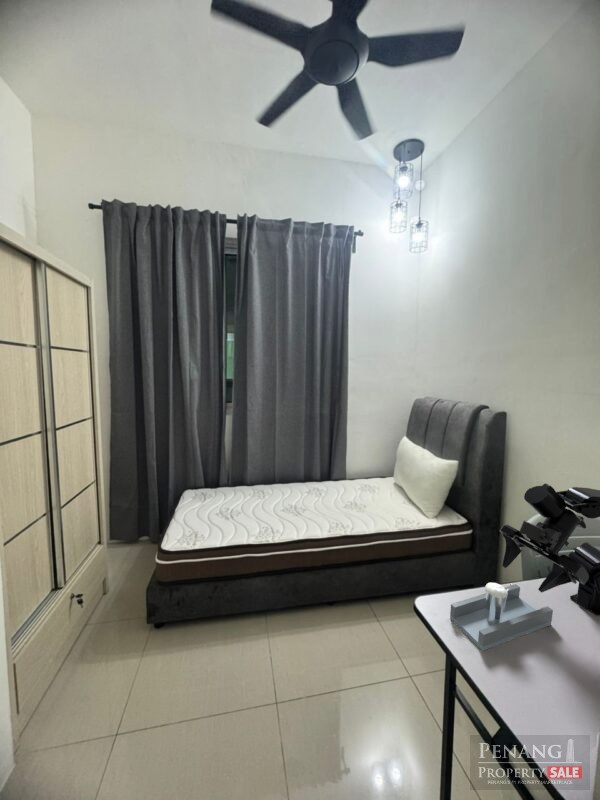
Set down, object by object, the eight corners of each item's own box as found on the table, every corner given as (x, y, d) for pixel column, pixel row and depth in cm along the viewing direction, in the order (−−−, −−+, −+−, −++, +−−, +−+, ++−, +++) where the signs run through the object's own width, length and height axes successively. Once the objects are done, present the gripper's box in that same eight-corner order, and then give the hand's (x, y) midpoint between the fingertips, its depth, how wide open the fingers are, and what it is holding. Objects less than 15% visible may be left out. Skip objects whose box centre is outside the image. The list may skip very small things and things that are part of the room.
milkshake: (511, 630, 75) (515, 591, 74) (487, 626, 76) (490, 588, 75) (503, 614, 79) (507, 578, 78) (480, 611, 80) (483, 575, 79)
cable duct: (514, 597, 87) (515, 584, 86) (551, 624, 78) (552, 609, 77) (450, 618, 80) (451, 603, 79) (482, 650, 71) (483, 634, 70)
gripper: (507, 496, 87) (473, 541, 85) (586, 530, 70) (546, 588, 68) (525, 518, 91) (493, 562, 89) (605, 556, 73) (567, 612, 71)
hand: (520, 578), depth 79 cm, fingers open, 9 cm apart
